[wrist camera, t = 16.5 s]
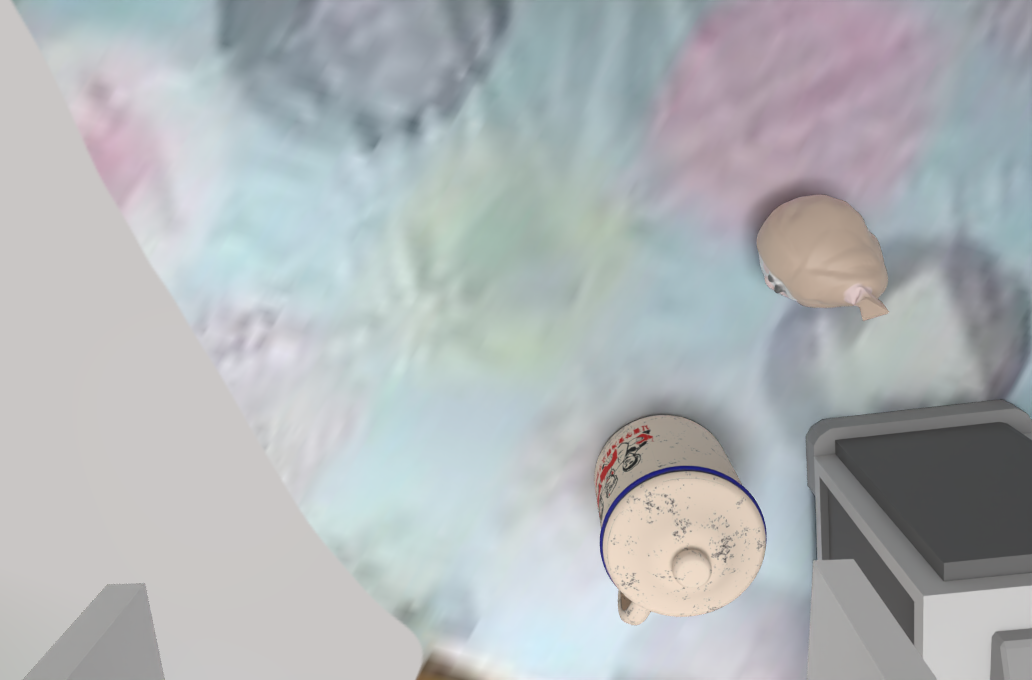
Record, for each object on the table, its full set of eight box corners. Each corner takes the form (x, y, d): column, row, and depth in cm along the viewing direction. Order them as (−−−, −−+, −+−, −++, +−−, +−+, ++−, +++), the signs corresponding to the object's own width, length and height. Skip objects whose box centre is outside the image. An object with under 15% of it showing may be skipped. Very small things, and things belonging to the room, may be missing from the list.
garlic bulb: (753, 306, 50) (792, 343, 42) (738, 202, 48) (777, 221, 40) (862, 284, 49) (923, 318, 41) (852, 179, 47) (913, 193, 40)
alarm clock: (1008, 647, 56) (1224, 897, 38) (813, 665, 57) (938, 918, 39) (1018, 397, 51) (1273, 552, 33) (805, 420, 52) (944, 585, 34)
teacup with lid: (621, 389, 51) (645, 469, 40) (754, 436, 52) (813, 527, 41) (554, 548, 55) (558, 663, 43) (679, 590, 55) (716, 714, 44)
